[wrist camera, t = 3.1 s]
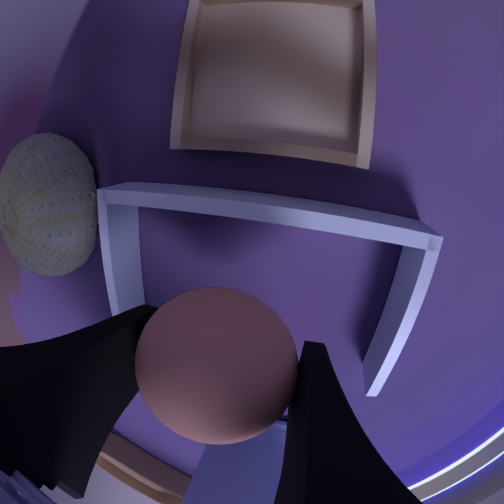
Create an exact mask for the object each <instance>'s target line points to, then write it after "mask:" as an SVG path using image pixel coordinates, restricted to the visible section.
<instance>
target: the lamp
mask: <svg viewBox="0 0 504 504" xmlns="http://www.w3.org/2000/svg"><path fill="white" fill-rule="evenodd" d="M95 465H97V466H98V467H99V468H101V469H102V470H103V471H105V472H106V473H108V474H109V475H111V476H112V477H114V478H115V479H117V480H118V481H120V482H122V483H123V484H125V485H127V486H128V487H130V488H132V489H133V490H135V491H137V492H139V493H141V494H142V495H144V496H146V497H148V498H150V499H152V500H154V501H156V502H158V503H160V504H181V501H182V499H183V497H184V495H185V493H186V491H187V488H188V486H189V484H190V482H191V479H192V478H191V477H189V476H187V475H185V474H183V473H181V472H179V471H177V470H175V469H173V468H171V467H170V466H168V465H166V464H164V463H163V462H161V461H159V460H158V459H156V458H154V457H153V456H151V455H149V454H148V453H146V452H145V451H143V450H141V449H140V448H138V447H137V446H135V445H134V444H132V443H130V442H129V441H127V440H125V439H123V438H121V437H119V436H117V435H115V434H113V433H111V432H110V434H109V436H108V438H107V440H106V442H105V444H104V446H103V448H102V450H101V452H100V454H99V456H98V458H97V461H96V463H95Z"/></svg>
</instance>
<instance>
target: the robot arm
mask: <svg viewBox="0 0 504 504" xmlns="http://www.w3.org/2000/svg"><path fill="white" fill-rule="evenodd" d="M157 310H158V308H156V307H153V306H149V305H146V304H143V305H140V306H137V307H134V308H132V309H129V310H127V311H124V312H122V313H120V314H117V315H115V316H113V317H110V318H108V319H105V320H103V321H101V322H98V323H96V324H93V325H91V326H88V327H85V328H83V329H80V330H77V331H75V332H72V333H69V334H66V335H63V336H60V337H56V338H53V339H49V340H45V341H41V342H36V343H30V344H24V345H18V346H10V347H0V504H57V503H55V502H54V501H52V499H50V498H49V497H48V496H47V495H46V494H44V493H43V492H42V491H41V490H40V488H41V487H42V485H43V484H44V485H46V486H47V487H48V488H49V489H50V490H53V489H54V488H55V487H56V486H58V487H59V488H60V489H62V490H63V491H65V492H66V493H67V494H69V495H70V496H71V497H73V498H75V499H81V498H83V497H84V494H85V490H86V487H87V484H88V481H89V478H90V475H91V473H92V470H93V468H94V465H95V463H96V461H97V458H98V456H99V454H100V452H101V450H102V448H103V446H104V444H105V442H106V440H107V438H108V436H109V434H110V432H111V430H112V429H113V427H114V425H115V423H116V421H117V420H118V418H119V417H120V415H121V414H122V412H123V411H124V410H125V408H126V407H127V406H128V404H129V403H130V402H131V400H132V399H133V398H134V396H135V395H136V394H137V392H138V391H139V387H138V383H137V379H136V374H135V354H136V348H137V344H138V341H139V338H140V335H141V333H142V331H143V329H144V327H145V325H146V324H147V322H148V321H149V319H150V318H151V317H152V316H153V314H154V313H155V312H156V311H157ZM17 491H18V492H19V493H21V495H22V496H23V497H22V496H21V495H19V494H18V493H17ZM181 504H423V503H422V502H421V501H420V500H419V499H417V498H416V496H414V494H412V492H411V491H410V490H409V489H408V488H407V487H406V486H405V485H404V484H403V483H402V482H401V481H400V479H399V478H398V477H397V476H396V475H395V474H394V472H393V471H392V470H391V469H390V468H389V466H388V465H387V464H386V463H385V461H384V460H383V459H382V457H381V456H380V455H379V453H378V452H377V450H376V449H375V448H374V446H373V445H372V443H371V442H370V440H369V438H368V437H367V435H366V434H365V432H364V430H363V429H362V427H361V425H360V424H359V422H358V420H357V418H356V416H355V414H354V413H353V411H352V409H351V407H350V405H349V403H348V401H347V399H346V397H345V394H344V392H343V390H342V388H341V386H340V383H339V381H338V379H337V376H336V374H335V371H334V369H333V366H332V364H331V361H330V358H329V355H328V352H327V349H326V346H325V345H324V343H317V342H311V341H305V342H304V346H303V349H302V353H301V357H300V361H299V364H298V380H297V385H296V389H295V393H294V395H293V397H292V399H291V402H290V404H289V407H288V417H287V422H286V421H280V420H277V421H276V422H275V423H274V424H273V425H272V426H271V427H269V428H268V429H267V430H265V431H264V432H262V433H260V434H259V435H257V436H255V437H252V438H250V439H248V440H245V441H241V442H237V443H232V444H207V445H206V447H205V450H204V452H203V454H202V457H201V459H200V461H199V464H198V466H197V468H196V470H195V473H194V475H193V477H192V479H191V482H190V484H189V486H188V488H187V491H186V493H185V495H184V497H183V499H182V501H181Z"/></svg>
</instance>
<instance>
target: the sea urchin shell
mask: <svg viewBox="0 0 504 504" xmlns="http://www.w3.org/2000/svg"><path fill="white" fill-rule="evenodd" d="M93 170H94V168H93V167H92V166H91V164H90V162H89V160H88V157H87V156H86V155H85V154H84V153H83V152H82V151H81V150H80V149H79V148H78V147H77V146H76V145H75V144H74V142H73V141H71V140H69V139H66V138H65V137H62V136H59V135H58V134H54V133H52V132H50V133H41V134H36V135H31V136H28V137H27V138H25V139H24V140H23V141H21V142H20V143H19V144H17V146H15V147H14V149H13V150H12V151H11V153H10V154H9V156H8V158H7V160H6V162H5V164H4V167H3V169H2V170H1V175H0V230H1V232H2V235H3V237H4V241H5V242H6V244H7V246H8V247H9V250H10V252H11V254H12V255H13V256H14V258H15V259H16V260H17V261H18V263H19V264H21V266H22V267H24V268H25V269H27V270H30V271H32V272H33V273H34V274H35V273H37V274H38V275H40V276H43V275H44V276H46V277H48V276H55V277H56V276H64V275H66V274H67V275H69V274H70V273H71V272H72V271H74V270H76V269H77V268H79V267H80V266H82V265H84V264H85V262H87V260H88V258H89V257H90V255H91V253H92V251H93V250H94V247H95V242H96V231H97V224H98V223H99V221H98V217H97V214H98V212H97V191H96V184H95V179H94V173H93Z"/></svg>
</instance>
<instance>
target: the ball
mask: <svg viewBox="0 0 504 504" xmlns="http://www.w3.org/2000/svg"><path fill="white" fill-rule="evenodd" d="M135 374H136V379H137V383H138V387H139V390H140V393H141V395H142V397H143V399H144V401H145V403H146V405H147V406H148V408H149V409H150V410H151V412H152V413H153V414H154V415H155V416H156V418H157V419H158V420H159V421H160V422H161V423H163V424H164V425H165V426H166V427H168V428H169V429H171V430H172V431H174V432H175V433H177V434H179V435H181V436H183V437H185V438H187V439H190V440H193V441H197V442H201V443H206V444H232V443H237V442H241V441H245V440H248V439H250V438H252V437H255V436H257V435H259V434H260V433H262V432H264V431H265V430H267V429H268V428H269V427H271V426H272V425H273V424H274V423H275V422H276V421H277V420H278V419H279V418H280V417H281V416H282V414H283V413H284V412H285V410H286V409H287V407H288V406H289V404H290V402H291V399H292V397H293V395H294V393H295V389H296V385H297V380H298V356H297V351H296V346H295V344H294V341H293V338H292V336H291V334H290V332H289V330H288V328H287V327H286V325H285V324H284V322H283V321H282V320H281V318H280V317H279V316H278V315H277V314H276V313H275V312H274V311H273V310H272V309H271V308H270V307H269V306H267V305H266V304H265V303H263V302H262V301H260V300H259V299H257V298H255V297H253V296H251V295H249V294H246V293H244V292H241V291H238V290H234V289H228V288H215V287H209V288H200V289H196V290H192V291H188V292H185V293H183V294H181V295H178V296H176V297H175V298H173V299H171V300H170V301H168V302H166V303H165V304H164V305H163V306H162V307H160V308H159V309H158V310H157V311H156V312H155V313H154V314H153V316H152V317H151V318H150V319H149V321H148V322H147V324H146V325H145V327H144V329H143V331H142V333H141V335H140V338H139V341H138V344H137V348H136V354H135Z"/></svg>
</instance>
